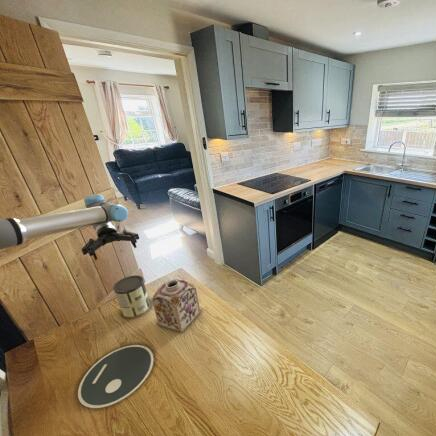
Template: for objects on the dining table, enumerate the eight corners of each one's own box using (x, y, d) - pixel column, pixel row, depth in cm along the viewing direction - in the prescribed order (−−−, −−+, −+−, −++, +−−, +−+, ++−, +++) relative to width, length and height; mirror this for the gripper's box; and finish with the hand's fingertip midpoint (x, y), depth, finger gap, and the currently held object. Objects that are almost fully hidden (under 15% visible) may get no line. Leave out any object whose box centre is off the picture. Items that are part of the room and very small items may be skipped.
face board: (60, 412, 66) (59, 410, 66) (105, 347, 85) (104, 346, 84) (135, 406, 68) (134, 404, 68) (163, 344, 86) (163, 342, 86)
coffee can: (134, 299, 106) (125, 274, 101) (155, 301, 105) (148, 276, 100) (116, 317, 97) (106, 290, 91) (140, 320, 96) (131, 292, 90)
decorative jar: (181, 333, 91) (173, 297, 83) (157, 325, 94) (147, 289, 86) (201, 311, 101) (195, 277, 94) (179, 304, 104) (171, 271, 97)
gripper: (138, 231, 121) (151, 248, 107) (75, 249, 105) (80, 270, 91) (135, 218, 118) (147, 233, 104) (68, 234, 102) (73, 254, 88)
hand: (116, 250), depth 97 cm, fingers open, 13 cm apart
